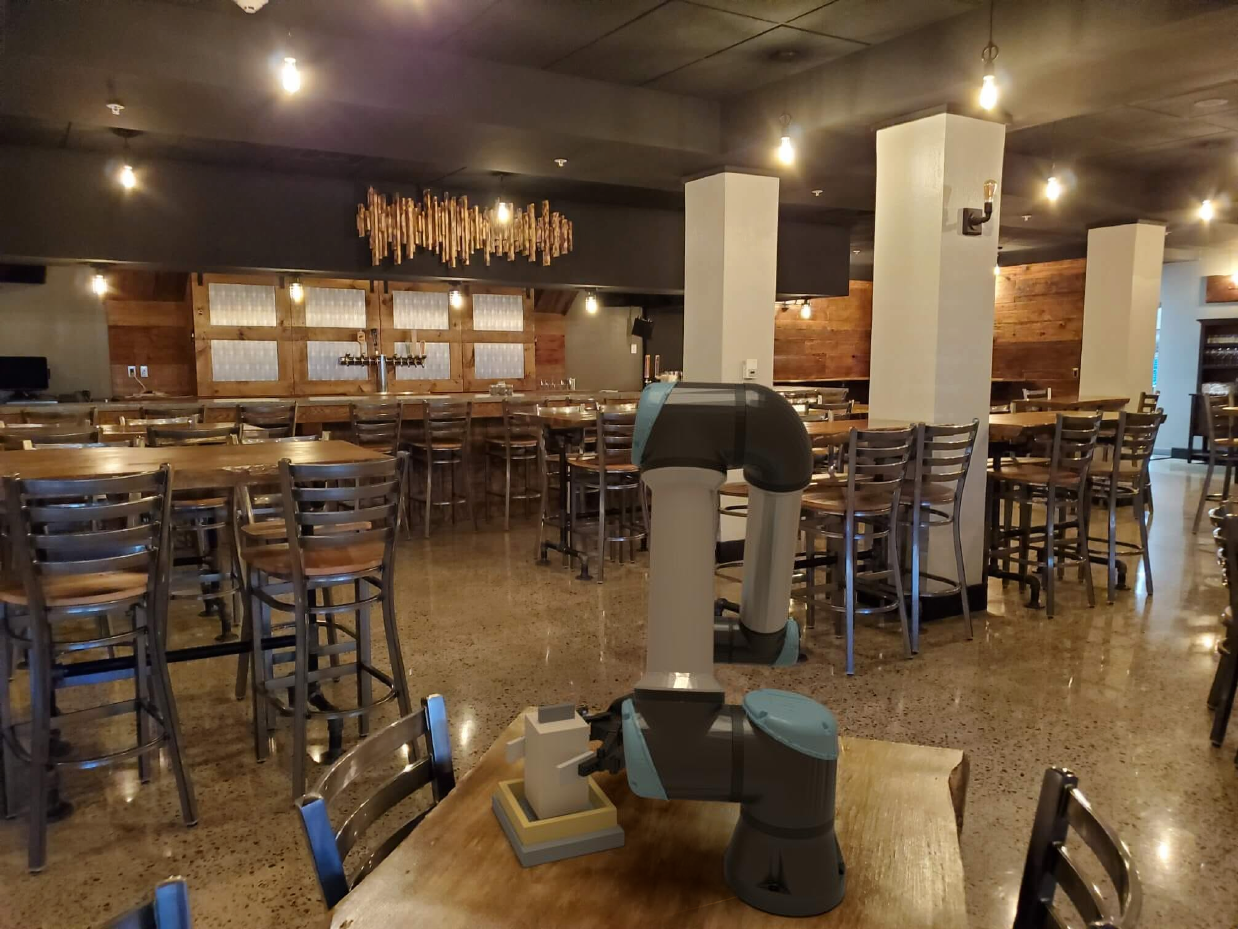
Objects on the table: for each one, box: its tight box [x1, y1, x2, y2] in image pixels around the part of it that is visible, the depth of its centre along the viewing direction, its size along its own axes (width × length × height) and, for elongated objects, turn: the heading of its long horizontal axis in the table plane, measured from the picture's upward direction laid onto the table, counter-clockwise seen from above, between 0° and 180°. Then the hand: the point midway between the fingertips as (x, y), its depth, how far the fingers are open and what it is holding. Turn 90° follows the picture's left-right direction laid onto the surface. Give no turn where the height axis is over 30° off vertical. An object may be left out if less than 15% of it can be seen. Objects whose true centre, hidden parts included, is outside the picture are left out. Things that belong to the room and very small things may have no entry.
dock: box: [491, 774, 625, 869], centre depth 118 cm, size 16×14×4 cm
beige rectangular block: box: [524, 701, 590, 820], centre depth 117 cm, size 7×7×14 cm
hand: (532, 765), depth 114 cm, fingers closed on beige rectangular block, 9 cm apart
